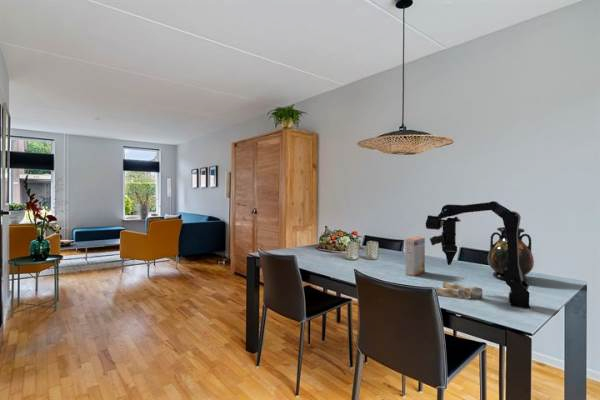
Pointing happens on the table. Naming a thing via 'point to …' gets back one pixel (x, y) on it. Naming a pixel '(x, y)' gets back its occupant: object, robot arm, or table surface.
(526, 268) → the amphora vase
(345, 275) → the table surface
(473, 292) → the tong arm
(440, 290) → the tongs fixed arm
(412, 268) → the cracker box
